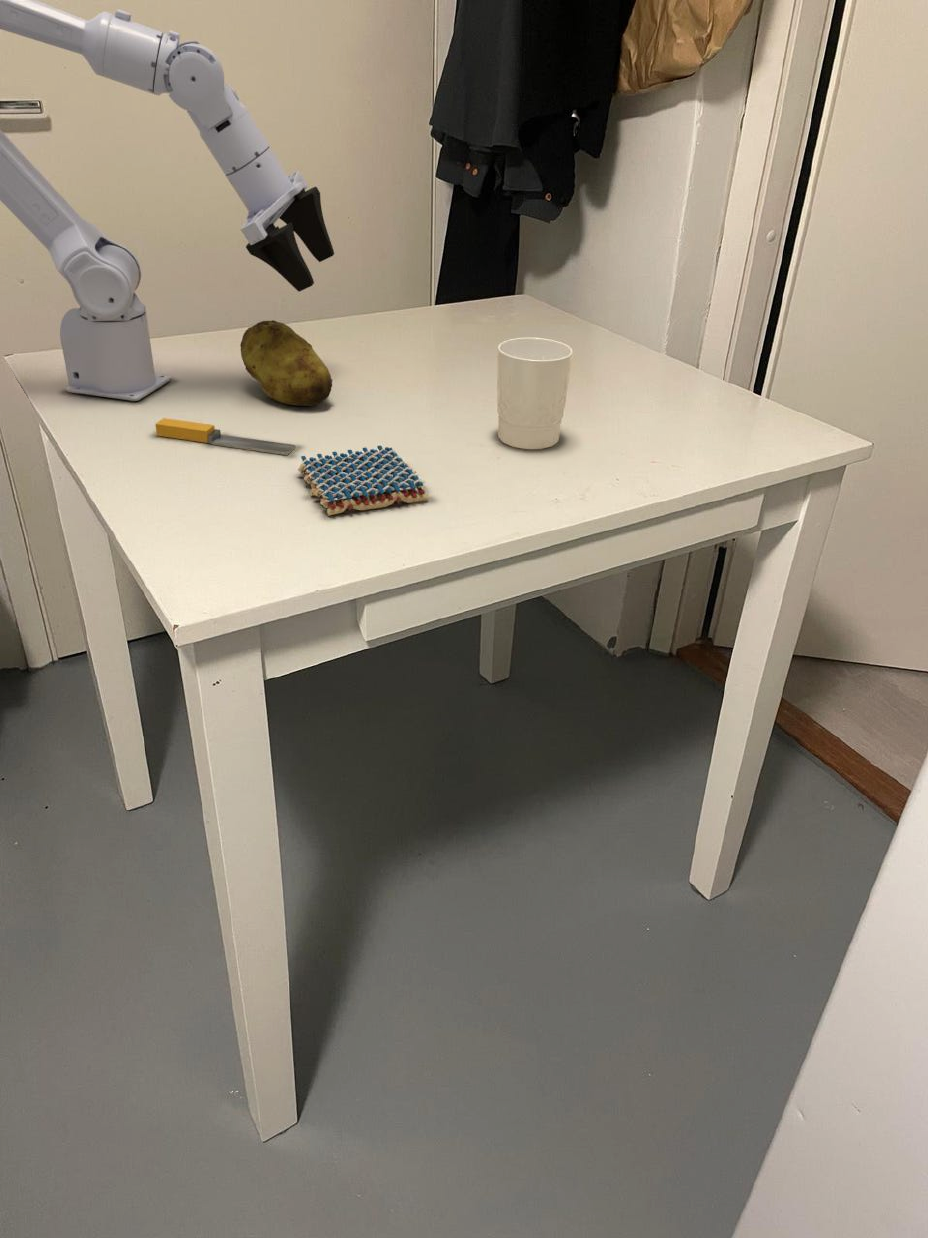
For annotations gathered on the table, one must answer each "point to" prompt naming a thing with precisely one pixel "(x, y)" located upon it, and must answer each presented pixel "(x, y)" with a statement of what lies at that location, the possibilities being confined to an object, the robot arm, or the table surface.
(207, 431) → the knife
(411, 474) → the woven mat
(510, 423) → the white cup
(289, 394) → the potato
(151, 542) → the table surface
